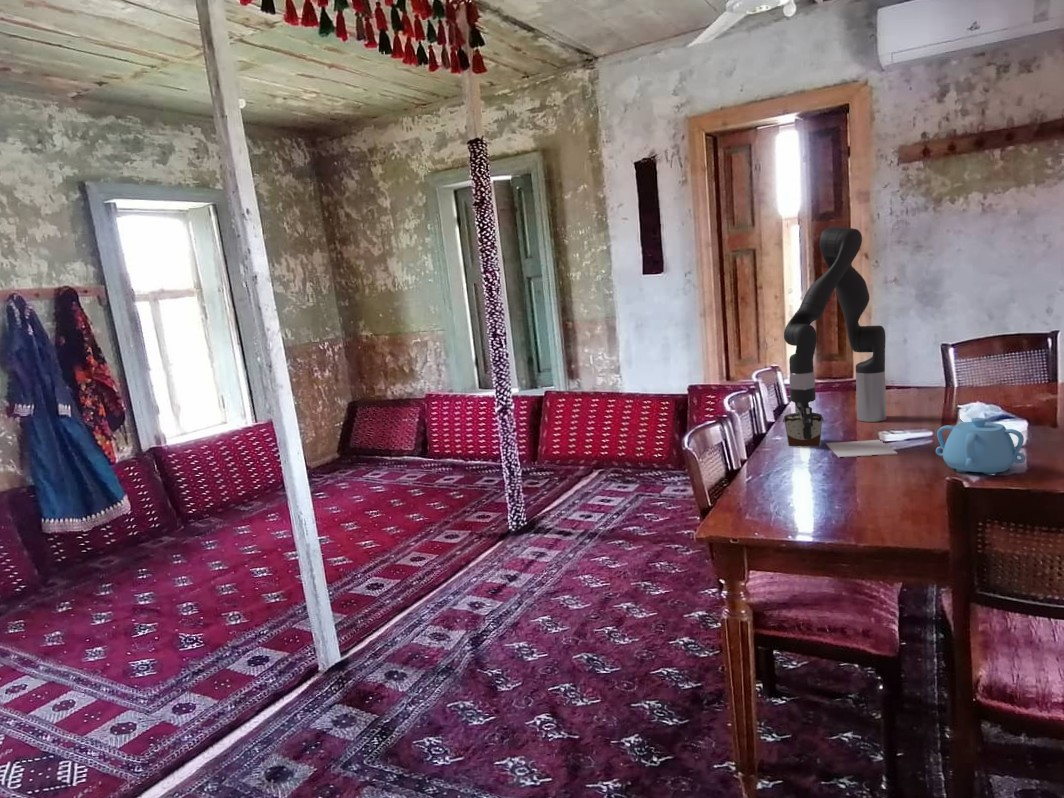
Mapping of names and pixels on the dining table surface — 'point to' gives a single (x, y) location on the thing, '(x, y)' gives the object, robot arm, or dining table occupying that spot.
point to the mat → (861, 448)
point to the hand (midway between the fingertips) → (804, 435)
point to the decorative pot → (980, 447)
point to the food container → (796, 430)
